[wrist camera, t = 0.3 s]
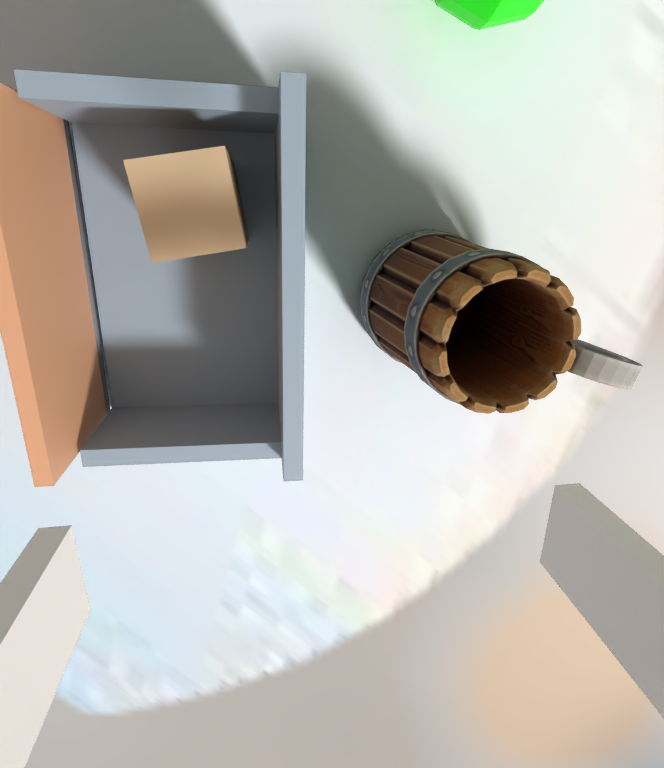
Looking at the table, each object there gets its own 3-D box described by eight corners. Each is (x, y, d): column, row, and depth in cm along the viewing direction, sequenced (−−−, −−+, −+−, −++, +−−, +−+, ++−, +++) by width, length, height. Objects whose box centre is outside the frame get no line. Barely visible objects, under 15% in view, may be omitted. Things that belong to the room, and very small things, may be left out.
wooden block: (159, 173, 31) (123, 160, 23) (233, 162, 32) (224, 145, 23) (179, 250, 33) (151, 263, 25) (249, 239, 34) (245, 248, 25)
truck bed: (77, 105, 31) (-21, 49, 20) (291, 118, 33) (306, 73, 22) (119, 414, 38) (64, 492, 27) (291, 408, 40) (302, 480, 29)
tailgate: (50, 115, 30) (-61, 65, 20) (70, 117, 30) (-29, 67, 20) (96, 409, 37) (32, 486, 26) (112, 409, 37) (55, 485, 27)
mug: (340, 341, 39) (386, 414, 25) (380, 211, 36) (457, 211, 22) (503, 383, 42) (623, 467, 28) (552, 268, 39) (714, 298, 25)
